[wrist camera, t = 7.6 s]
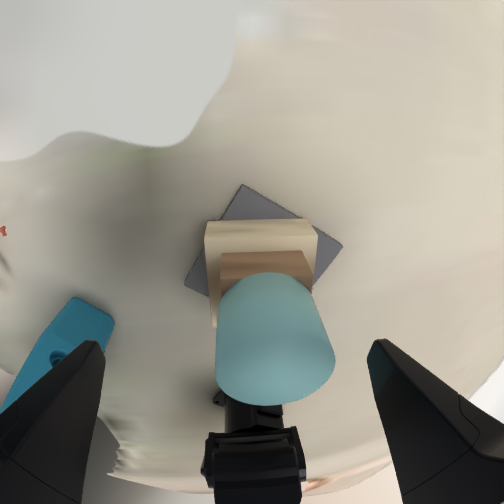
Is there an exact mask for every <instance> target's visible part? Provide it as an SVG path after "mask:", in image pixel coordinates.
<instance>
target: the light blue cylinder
mask: <svg viewBox="0 0 504 504" xmlns="http://www.w3.org/2000/svg"><path fill="white" fill-rule="evenodd" d="M334 367H335V355H334V351H333V349H332V346H331V343H330V341H329V338H328V336H327V333H326V330H325V328H324V325H323V323H322V320H321V318H320V315H319V313H318V310H317V308H316V305H315V302H314V300H313V298H312V295H311V293H310V291H309V290H308V289H307V287H306V286H305V285H304V284H303V283H302V282H300V281H299V280H297V279H295V278H293V277H291V276H289V275H286V274H282V273H274V272H265V273H258V274H254V275H250V276H248V277H245V278H243V279H241V280H239V281H238V282H236V283H235V284H233V285H232V286H231V287H230V288H229V289H228V290H227V291H226V292H225V293H224V295H223V296H222V298H221V300H220V302H219V306H218V312H217V333H216V358H215V378H216V381H217V383H218V385H219V387H220V388H221V389H222V390H223V391H224V392H225V393H226V394H227V395H229V396H230V397H232V398H234V399H236V400H238V401H241V402H244V403H248V404H253V405H262V406H270V405H280V404H285V403H290V402H293V401H296V400H299V399H302V398H304V397H306V396H308V395H310V394H311V393H313V392H315V391H316V390H317V389H319V388H320V387H321V386H322V385H323V384H324V383H325V382H326V381H327V380H328V379H329V377H330V376H331V374H332V372H333V370H334Z"/></svg>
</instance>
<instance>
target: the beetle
mask: <svg viewBox="0 0 504 504" xmlns="http://www.w3.org/2000/svg"><path fill="white" fill-rule="evenodd" d="M5 229H6V227H5V226H3V227H2V228H0V232H1V233H3V234H2V235H3V237H4V236H6V235H7V234H6V233H5Z"/></svg>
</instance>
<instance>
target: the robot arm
mask: <svg viewBox="0 0 504 504" xmlns="http://www.w3.org/2000/svg"><path fill="white" fill-rule="evenodd" d="M367 364H368V369H369V374H370V378H371V383H372V388H373V393H374V398H375V402H376V405H377V408H378V411H379V415H380V418H381V421H382V425H383V428H384V431H385V435H386V438H387V442H388V445H389V449H390V453H391V456H392V460H393V464H394V467H395V471H396V476H397V480H398V484H399V488H400V491H401V496H402V501H403V504H504V424H503V423H501V422H500V421H498V420H497V419H495V418H493V417H492V416H490V415H488V414H487V413H485V412H484V411H482V410H481V409H479V408H478V407H476V406H475V405H474V404H472V403H471V402H469V401H468V400H467V399H465V398H464V397H463V396H462V395H460V394H458V393H457V392H456V391H455V390H454V389H452V388H451V387H450V386H448V385H447V384H446V383H444V382H443V381H442V380H440V379H439V378H438V377H437V376H435V375H434V374H433V373H431V372H430V371H429V370H427V369H426V368H425V367H423V366H422V365H421V364H419V363H418V362H417V361H415V360H414V359H413V358H411V357H410V356H409V355H408V354H406V353H405V352H404V351H402V350H401V349H400V348H398V347H397V346H396V345H394V344H393V343H392V342H390V341H389V340H387V339H377V340H375V341H374V342H373V344H372V347H371V349H370V351H369V354H368V356H367ZM104 369H105V356H104V354H103V352H102V349H101V347H100V344H99V342H98V341H96V340H89V339H87V340H85V341H83V342H82V343H81V344H80V345H79V346H77V347H76V348H75V349H74V350H73V351H71V352H70V353H69V354H68V355H67V356H66V357H64V358H63V359H62V360H61V361H60V362H59V363H57V364H56V365H55V366H54V367H53V368H52V369H50V370H49V371H48V372H47V373H46V374H45V375H43V376H42V377H41V378H40V379H39V380H38V381H37V382H35V383H34V384H33V385H32V386H31V387H30V388H29V389H28V390H26V391H25V392H24V393H23V394H22V395H21V396H20V397H19V398H18V399H17V400H15V401H14V402H13V403H12V404H11V405H10V406H8V407H7V408H6V409H5V410H4V411H3V412H2V413H0V504H81V502H82V494H83V486H84V479H85V473H86V467H87V461H88V455H89V450H90V444H91V440H92V434H93V430H94V425H95V421H96V416H97V412H98V408H99V403H100V397H101V389H102V382H103V376H104ZM213 403H214V404H216V405H219V406H223V407H225V433H214V432H209V437H208V439H207V440H205V455H204V459H203V462H202V466H201V474H202V475H203V476H204V477H205V478H206V481H207V484H208V487H209V488H214V498H215V504H300V502H301V498H302V491H301V482H303V481H306V464H305V458H304V453H303V449H302V446H301V442H300V439H299V435H298V431H297V428H296V426H292V427H290V428H284V425H283V419H282V415H283V409H282V404H280V405H270V406H262V405H253V404H248V403H244V402H241V401H238V400H236V399H234V398H232V397H230V396H229V395H227V394H226V393H225V392H224V391H223V390H221V391H220V392H219V393H218V394H217V395H216V396H215V397H214V398H213Z"/></svg>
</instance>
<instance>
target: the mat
mask: <svg viewBox="0 0 504 504" xmlns="http://www.w3.org/2000/svg"><path fill="white" fill-rule="evenodd" d="M260 219H301V218H299V217H298V216H296V215H295V214H293V213H291V212H290V211H288V210H286V209H285V208H283V207H281V206H280V205H278V204H276V203H275V202H273V201H271V200H269V199H268V198H266V197H264V196H263V195H261V194H259V193H257V192H256V191H254V190H252V189H251V188H249V187H247V186H245V185H244V184H242V186H241V187H240V189H239V190H238V192H237V194H236V195H235V197H234V199H233V200H232V202H231V203H230V205H229V207H228V208H227V210H226V212H225V213H224V215H223V217H222V218H221V220H220V221H228V220H260ZM311 226H312V225H311ZM312 227H313V229H314V230H315V232H316V233H317V235H318V241H317V251H316V261H315V270H314V278H313V285H314V284H315V283H316V281H317V280H318V279H319V278H320V276H321V275H322V274H323V272H324V271H325V270H326V269H327V267H328V266H329V265H330V264H331V262H332V261H333V260H334V258H335V257H336V256H337V254H338V253H339V252H340V251H341V249H342V248H343V246H342V244H341V243H339V242H338V241H336V240H335V239H333V238H332V237H330V236H328V235H327V234H325V233H324V232H322V231H320V230H319V229H317V228H316V227H314V226H312ZM184 285H185V286H187V287H189V288H191V289H194V290H196V291H198V292H200V293H202V294H204V295H206V296H209V288H208V278H207V268H206V257H205V247H204V249H203V250H202V252H201V254H200V255H199V257H198V259H197V261H196V262H195V264H194V266H193V268H192V269H191V271H190V273H189V275H188V276H187V278H186V280H185V283H184Z"/></svg>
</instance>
